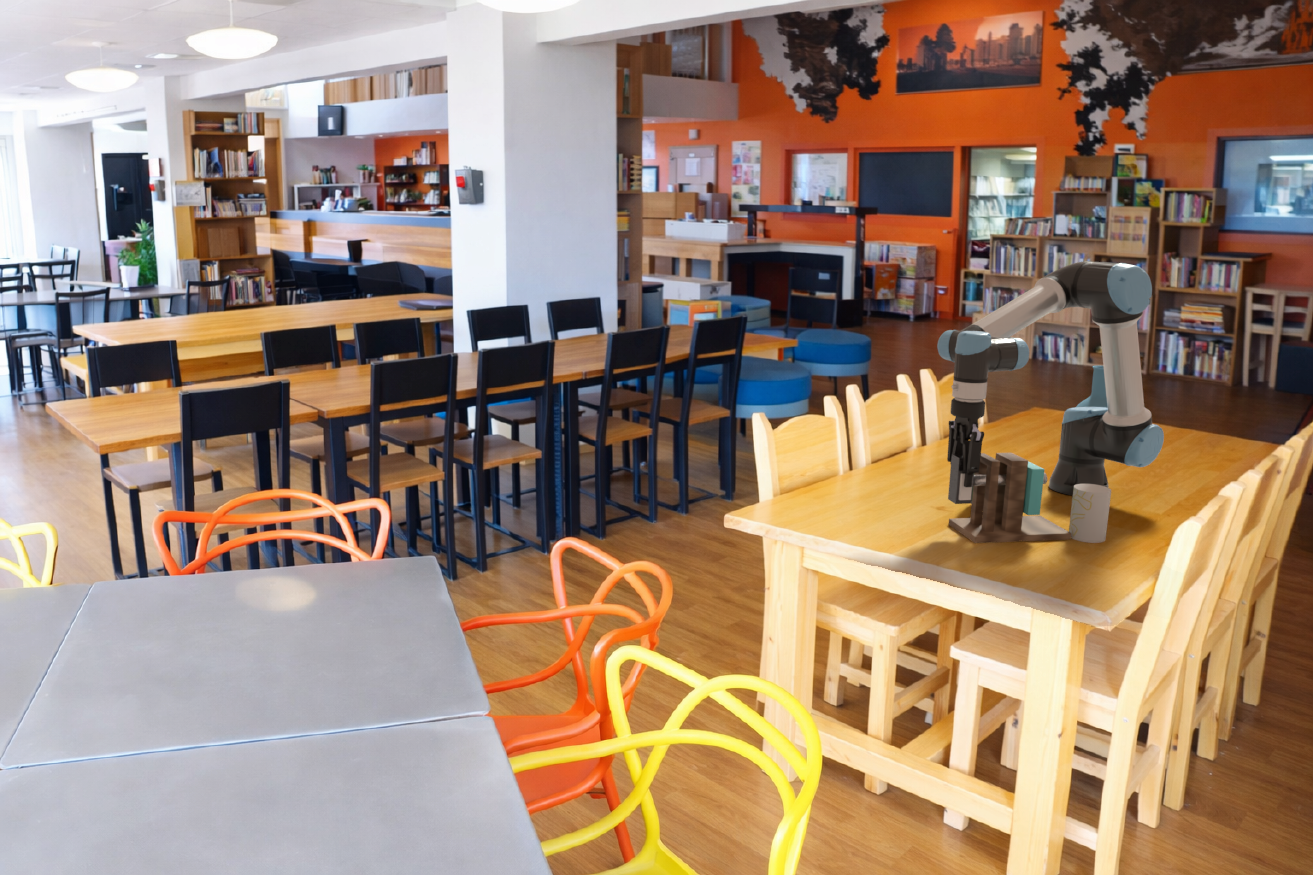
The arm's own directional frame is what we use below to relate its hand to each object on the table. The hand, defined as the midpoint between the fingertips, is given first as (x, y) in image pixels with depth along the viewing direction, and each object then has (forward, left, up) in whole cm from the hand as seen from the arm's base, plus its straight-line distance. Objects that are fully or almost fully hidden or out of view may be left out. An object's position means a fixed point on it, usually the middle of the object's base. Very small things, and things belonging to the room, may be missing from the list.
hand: (960, 496), depth 245 cm
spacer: (-16, 0, -3) cm, 16 cm away
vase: (-91, -88, -9) cm, 127 cm away
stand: (-13, 0, -9) cm, 16 cm away
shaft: (-10, 0, -1) cm, 10 cm away
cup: (-30, +6, -9) cm, 32 cm away
